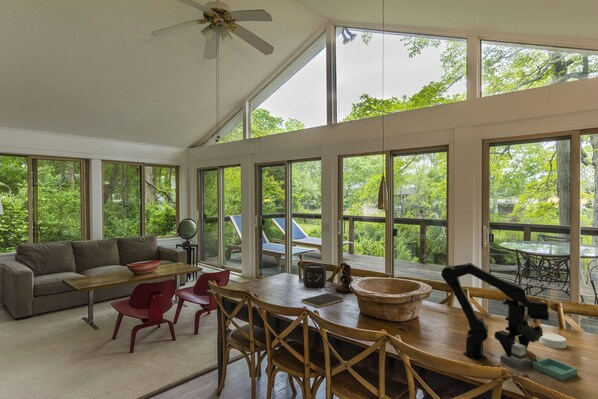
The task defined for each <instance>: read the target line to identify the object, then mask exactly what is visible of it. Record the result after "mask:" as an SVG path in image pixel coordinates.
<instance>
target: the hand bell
mask: <svg viewBox="0 0 598 399" xmlns="http://www.w3.org/2000/svg"><path fill="white" fill-rule="evenodd" d="M515 342H516V343H519V339H518V336H517V337H515ZM519 344H520V343H519ZM525 356H526V357H527V358H529V359H531V360H533V362H537V361H538V359H537V357H536V354H534V353H533V352H532V351H530V350H528V349H527V350H526V352H525Z"/></svg>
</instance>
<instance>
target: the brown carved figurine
mask: <svg viewBox="0 0 598 399" xmlns="http://www.w3.org/2000/svg"><path fill="white" fill-rule="evenodd" d="M340 269H341V274H342V275H341V276H340V278H339V280H340V282H341V284H338V285H336V286H335V290H336V291H338V292H340V294H343V292H344V293H346V292H348V293H349V292H350V293H351V292H352V291H351V289H350V288H349V285H351V284H352V278H351V277H352V276H351V269H352V267H351V265H349V264H348V263H346V262H342V263H341V264H340Z"/></svg>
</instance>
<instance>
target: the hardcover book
mask: <svg viewBox="0 0 598 399" xmlns="http://www.w3.org/2000/svg"><path fill="white" fill-rule="evenodd" d="M344 299H345V298H344V297H343V296H339V295H336V294H332V293H329V292H327V293H323V294H318V295H314V296H311V297H307V298H302V299H301V303H304V304H307V305H309V306H312V307H316V308H323V307H325V306H329V305H333V304H336V302H337V303H340V302H344Z"/></svg>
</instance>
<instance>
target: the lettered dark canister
mask: <svg viewBox="0 0 598 399" xmlns="http://www.w3.org/2000/svg"><path fill="white" fill-rule="evenodd" d="M302 270H303V271H302V280H303V281H302V284H303V285H304V287H305V288H306V289H314V290H317V289H322V288H325V287H326V285H327V281H326V280H327V272H326V271H327V267H326V266H325V265H324V264H321V263H307V264H305V265H304V266H303V267H302Z"/></svg>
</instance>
